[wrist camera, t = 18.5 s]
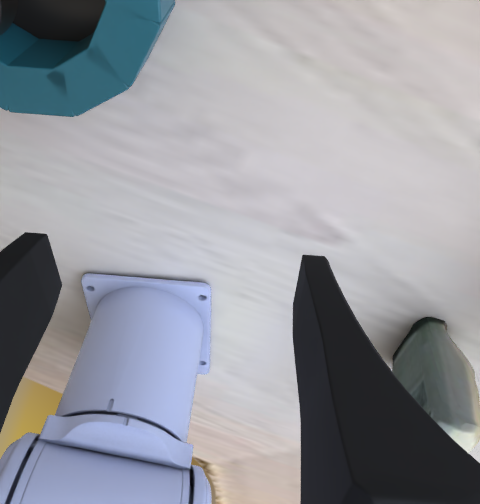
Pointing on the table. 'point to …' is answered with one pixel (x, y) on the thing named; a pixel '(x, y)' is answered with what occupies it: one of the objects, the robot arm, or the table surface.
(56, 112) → the ring
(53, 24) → the dark grey round knob
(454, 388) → the grey-green upright box
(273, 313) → the table surface
